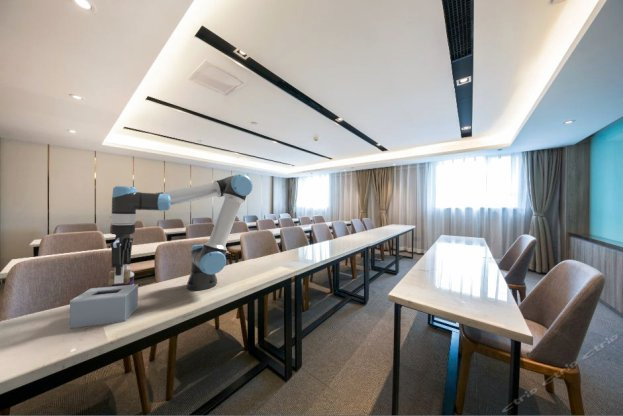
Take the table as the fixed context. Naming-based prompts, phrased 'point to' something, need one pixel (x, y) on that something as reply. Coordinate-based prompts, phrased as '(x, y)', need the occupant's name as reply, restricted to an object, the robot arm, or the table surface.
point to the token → (112, 275)
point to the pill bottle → (130, 279)
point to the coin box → (103, 305)
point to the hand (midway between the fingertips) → (120, 281)
